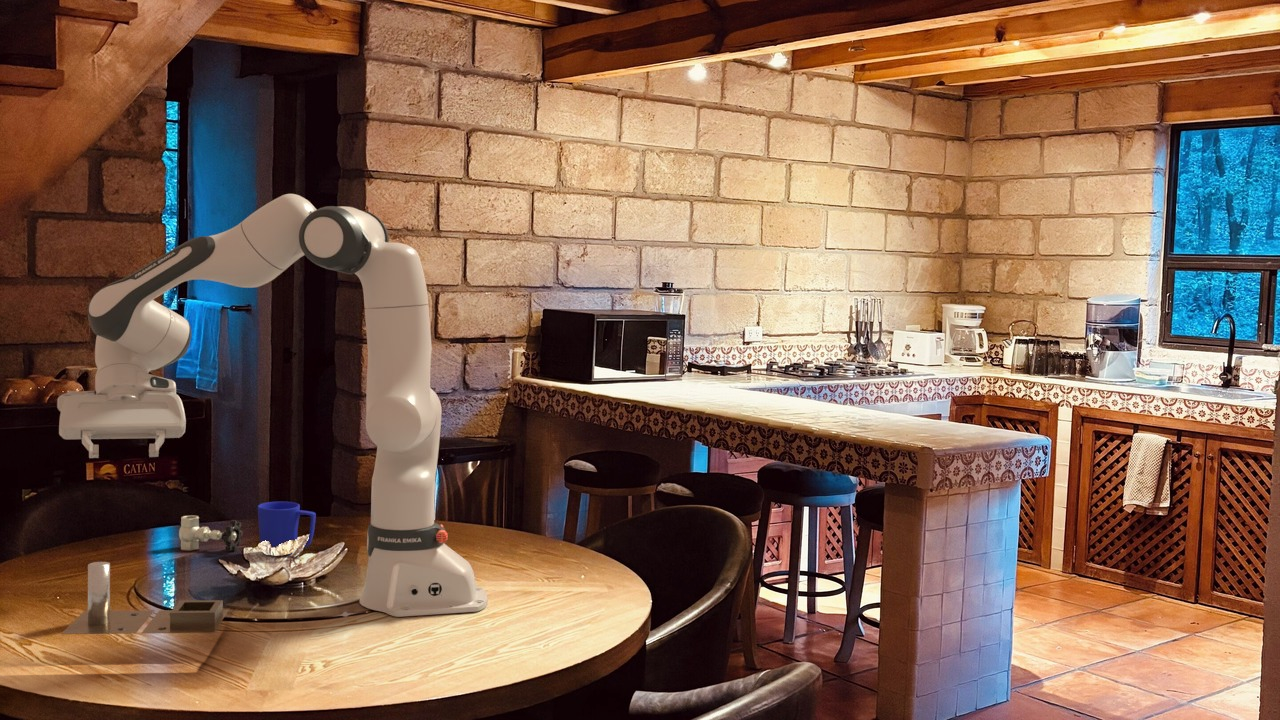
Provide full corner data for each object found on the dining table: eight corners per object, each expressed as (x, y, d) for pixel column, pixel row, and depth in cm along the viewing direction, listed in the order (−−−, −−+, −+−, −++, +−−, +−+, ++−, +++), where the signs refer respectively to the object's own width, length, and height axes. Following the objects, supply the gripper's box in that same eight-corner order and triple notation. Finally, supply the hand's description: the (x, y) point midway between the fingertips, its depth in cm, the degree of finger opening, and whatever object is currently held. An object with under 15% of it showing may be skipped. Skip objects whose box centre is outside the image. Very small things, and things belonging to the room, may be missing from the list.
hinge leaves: (228, 616, 198) (228, 595, 198) (214, 639, 186) (214, 617, 186) (84, 618, 194) (84, 596, 194) (60, 641, 182) (60, 618, 182)
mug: (304, 562, 235) (305, 512, 234) (249, 556, 237) (249, 507, 236) (323, 552, 243) (324, 504, 242) (269, 547, 245) (270, 500, 244)
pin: (112, 618, 191) (112, 561, 190) (106, 624, 187) (106, 566, 187) (91, 618, 190) (91, 561, 189) (85, 625, 187) (85, 566, 186)
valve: (171, 551, 239) (227, 556, 237) (172, 519, 238) (228, 523, 237) (188, 544, 245) (242, 548, 244) (188, 513, 245) (243, 517, 243)
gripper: (57, 380, 202) (56, 445, 194) (184, 381, 211) (188, 443, 204) (57, 402, 207) (56, 467, 199) (181, 402, 216) (185, 464, 208)
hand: (124, 455), depth 201 cm, fingers open, 8 cm apart
